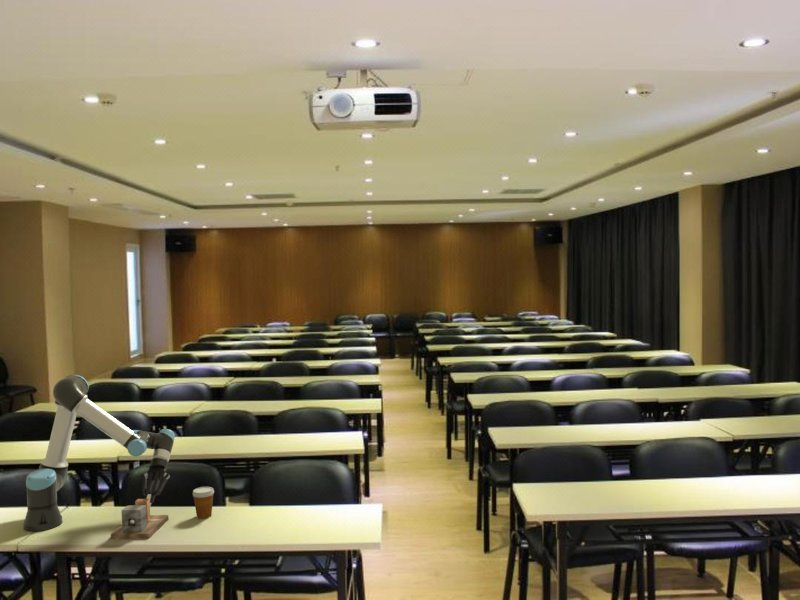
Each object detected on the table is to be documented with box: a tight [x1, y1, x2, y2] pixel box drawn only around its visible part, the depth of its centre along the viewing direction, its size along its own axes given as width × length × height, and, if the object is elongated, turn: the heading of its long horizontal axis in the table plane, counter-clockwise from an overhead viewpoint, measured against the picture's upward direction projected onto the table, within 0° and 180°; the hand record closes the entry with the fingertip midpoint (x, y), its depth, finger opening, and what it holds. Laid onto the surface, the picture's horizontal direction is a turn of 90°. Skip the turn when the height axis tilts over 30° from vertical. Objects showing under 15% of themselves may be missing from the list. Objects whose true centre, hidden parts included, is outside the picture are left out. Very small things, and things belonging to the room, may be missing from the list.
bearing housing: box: [110, 504, 170, 540], centre depth 299 cm, size 16×22×11 cm
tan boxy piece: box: [129, 498, 151, 525], centre depth 297 cm, size 5×13×9 cm, turn 178°
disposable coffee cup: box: [192, 486, 215, 520], centre depth 313 cm, size 10×10×12 cm
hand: (146, 509), depth 306 cm, fingers closed
